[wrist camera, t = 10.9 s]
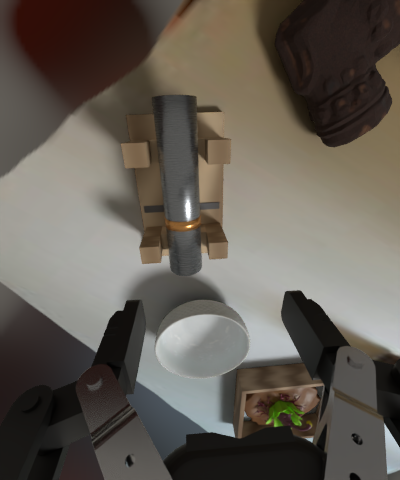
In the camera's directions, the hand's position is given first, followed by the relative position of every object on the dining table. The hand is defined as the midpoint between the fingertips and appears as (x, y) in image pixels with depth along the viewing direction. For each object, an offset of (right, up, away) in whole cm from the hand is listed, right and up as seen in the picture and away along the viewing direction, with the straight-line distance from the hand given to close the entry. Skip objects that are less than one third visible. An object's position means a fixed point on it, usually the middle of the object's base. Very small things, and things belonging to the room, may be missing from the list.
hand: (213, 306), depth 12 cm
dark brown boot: (+16, +26, +14) cm, 34 cm away
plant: (+20, -38, +48) cm, 65 cm away
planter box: (+21, -38, +47) cm, 64 cm away
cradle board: (-4, +11, +20) cm, 23 cm away
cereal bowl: (-1, -12, +32) cm, 34 cm away
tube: (-3, +10, +16) cm, 19 cm away
